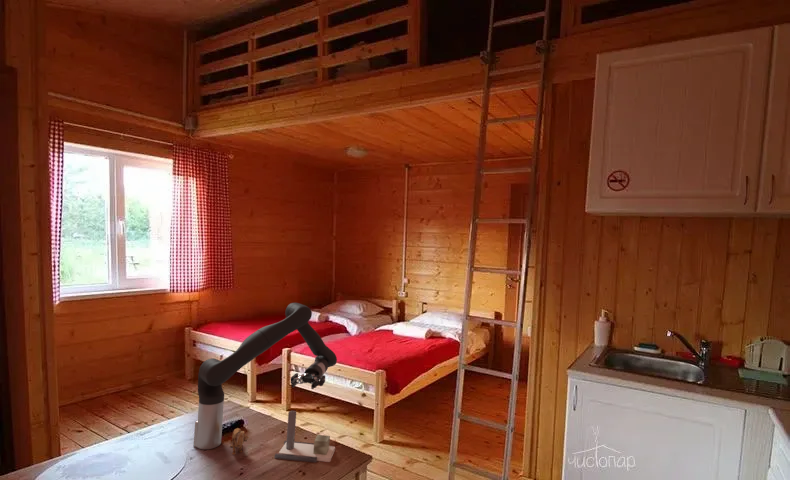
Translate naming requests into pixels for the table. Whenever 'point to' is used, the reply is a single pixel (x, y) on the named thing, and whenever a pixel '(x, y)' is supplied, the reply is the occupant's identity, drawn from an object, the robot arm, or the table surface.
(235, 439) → the lion figurine
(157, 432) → the table surface
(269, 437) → the table surface
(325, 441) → the block
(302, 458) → the guide rails
